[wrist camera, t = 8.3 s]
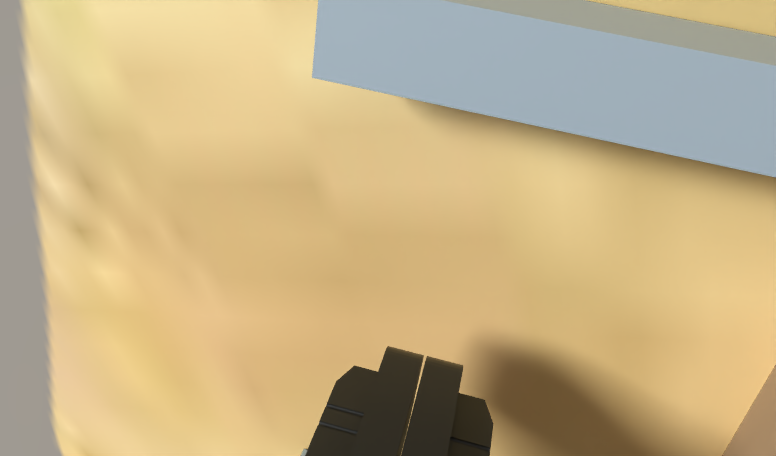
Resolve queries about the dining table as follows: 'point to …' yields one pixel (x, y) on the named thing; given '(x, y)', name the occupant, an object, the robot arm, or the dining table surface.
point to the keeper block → (757, 425)
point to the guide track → (566, 70)
